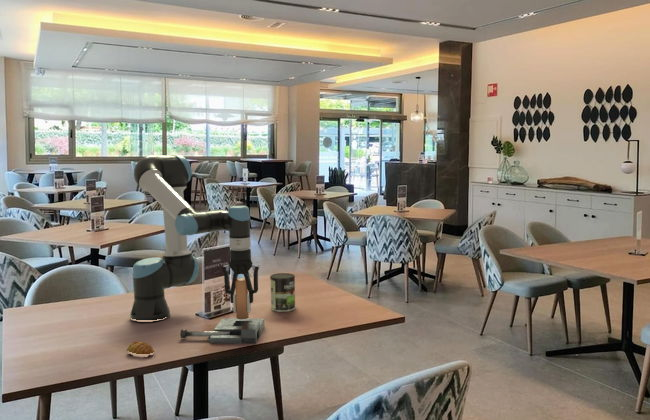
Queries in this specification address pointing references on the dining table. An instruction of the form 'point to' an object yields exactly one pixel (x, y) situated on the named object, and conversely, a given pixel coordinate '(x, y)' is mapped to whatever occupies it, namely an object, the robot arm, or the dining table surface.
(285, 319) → the dining table surface
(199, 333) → the lock pin
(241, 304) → the wooden block
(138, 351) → the pastry
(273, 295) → the coffee can
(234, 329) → the dock
